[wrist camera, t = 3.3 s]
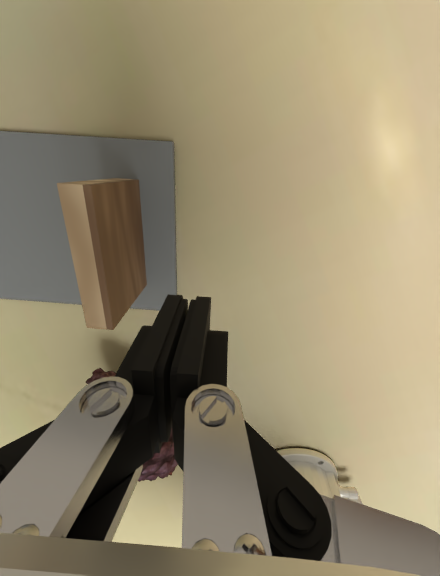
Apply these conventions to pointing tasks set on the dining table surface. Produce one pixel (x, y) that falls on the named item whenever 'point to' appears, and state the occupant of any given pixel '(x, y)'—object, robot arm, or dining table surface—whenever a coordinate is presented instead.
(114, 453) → the robot arm
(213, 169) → the dining table surface
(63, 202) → the wooden block
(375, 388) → the dining table surface
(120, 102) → the dining table surface
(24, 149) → the mat
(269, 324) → the dining table surface
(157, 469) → the pine cone
